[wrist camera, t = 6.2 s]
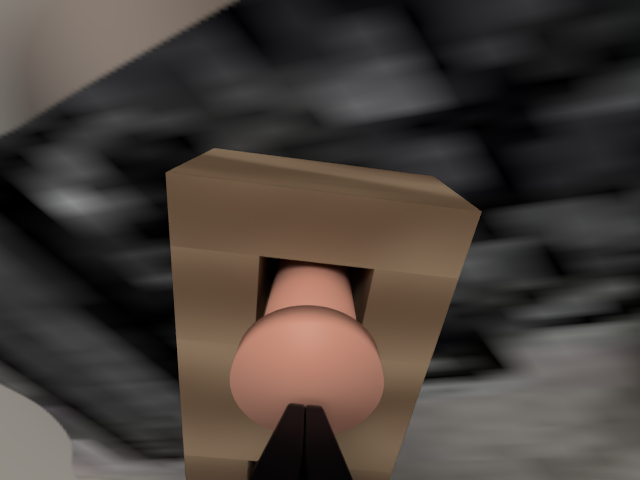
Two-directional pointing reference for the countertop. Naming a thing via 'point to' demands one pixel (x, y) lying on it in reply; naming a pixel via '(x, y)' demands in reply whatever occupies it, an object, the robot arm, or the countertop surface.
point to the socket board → (313, 246)
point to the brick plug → (308, 350)
